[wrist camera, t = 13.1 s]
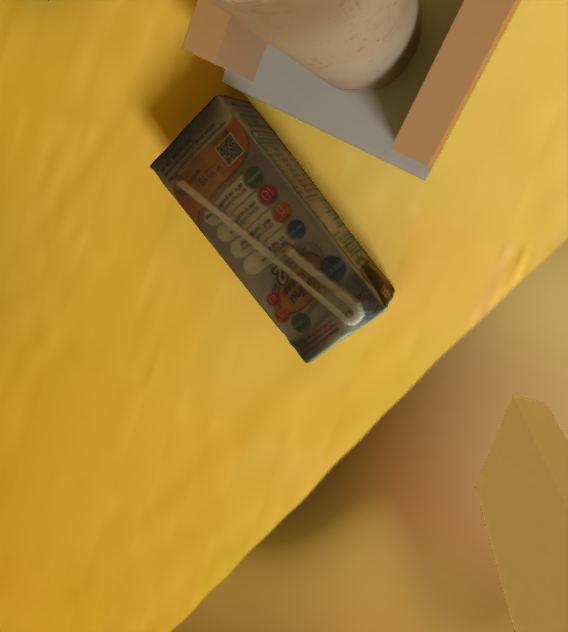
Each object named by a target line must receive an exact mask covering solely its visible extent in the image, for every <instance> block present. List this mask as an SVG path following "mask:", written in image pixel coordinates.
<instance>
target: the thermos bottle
mask: <svg viewBox="0 0 568 632" xmlns="http://www.w3.org/2000/svg"><path fill="white" fill-rule="evenodd" d="M208 1H210V2H211V3H213V4H214V5H216V6H217V7H219V8H220V9H222V10H224V11H226V12H227V13H229V14H230V15H231V16H233V17H234V18H235V19H236V20H238V21H239V22H240V23H241V24H243V25H244V26H245V27H247V28H248V29H250V30H251V31H252V32H254V33H255V34H257V35H258V36H260V37H261V38H263V39H264V40H265V41H267V42H268V43H270V44H271V45H273V46H274V47H276V48H277V49H279V50H280V51H281V52H283V53H284V54H286V55H287V56H289V57H290V58H292V59H293V60H294V61H296V62H297V63H299V64H300V65H302V66H303V67H305V68H306V69H308V70H309V71H310V72H312V73H313V74H315V75H316V76H318V77H319V78H321V79H322V80H323V81H325V82H326V83H328V84H330V85H331V86H333V87H334V88H336V89H339V90H342V91H344V92H350V93H366V92H370V91H374V90H377V89H379V88H381V87H383V86H385V85H387V84H389V83H390V82H392V81H393V80H394V79H395V78H397V77H398V76H399V75H400V74H401V73H402V72H403V70H404V69H405V68H406V67H407V66H408V64H409V62H410V61H411V59H412V58H413V56H414V54H415V51H416V49H417V46H418V44H419V39H420V35H421V27H422V15H421V9H420V3H419V0H208Z"/></svg>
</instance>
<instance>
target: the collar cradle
mask: <svg viewBox="0 0 568 632" xmlns="http://www.w3.org/2000/svg"><path fill="white" fill-rule="evenodd" d="M520 1H521V0H419V3H420V9H421V15H422V27H421V35H420V39H419V44H418V46H417V49H416V51H415V54H414V56H413V58H412V59H411V61H410V62H409V64H408V66H407V67H406V68H405V69H404V70H403V72H402V73H401V74H400V75H399V76H398V77H397V78H395V79H394V80H393V81H392V82H390V83H389V84H387V85H385V86H383V87H381V88H379V89H377V90H374V91H370V92H366V93H350V92H344V91H342V90H339V89H336V88H334V87H333V86H331V85H330V84H328V83H326V82H325V81H323V80H322V79H321V78H319V77H318V76H316V75H315V74H313V73H312V72H310V71H309V70H308V69H306V68H305V67H303V66H302V65H300V64H299V63H297V62H296V61H294V60H293V59H292V58H290V57H289V56H287V55H286V54H284V53H283V52H281V51H280V50H279V49H277V48H276V47H274V46H273V45H271V44H270V43H268V42H267V41H265V40H264V39H263V38H261V37H260V36H258V35H257V34H255V33H254V32H252V31H251V30H250V29H248V28H247V27H245V26H244V25H243V24H241V23H240V22H239V21H238V20H236V19H235V18H234V17H233V16H231V15H230V14H229V13H227V12H226V11H224V10H222V9H220V8H219V7H217V6H216V5H214V4H213V3H211V2H210V1H208V0H197V3H196V6H195V9H194V12H193V15H192V18H191V21H190V24H189V27H188V30H187V34H186V37H185V40H184V43H183V46H182V49H184V50H186V51H188V52H190V53H192V54H194V55H196V56H198V57H200V58H202V59H205V60H207V61H209V62H211V63H213V64H215V65H217V66H219V67H222V68H224V69H225V71H224V74H223V77H222V79H221V82H222V83H224V84H226V85H228V86H230V87H232V88H234V89H237V90H239V91H241V92H243V93H245V94H247V95H249V96H251V97H253V98H255V99H257V100H259V101H261V102H264V103H266V104H268V105H270V106H272V107H274V108H276V109H278V110H280V111H282V112H284V113H286V114H288V115H290V116H293V117H295V118H297V119H299V120H301V121H303V122H305V123H307V124H309V125H311V126H313V127H315V128H317V129H319V130H322V131H324V132H326V133H328V134H330V135H332V136H334V137H336V138H338V139H340V140H342V141H344V142H346V143H348V144H351V145H353V146H355V147H357V148H359V149H361V150H363V151H365V152H367V153H369V154H371V155H373V156H375V157H377V158H380V159H382V160H384V161H386V162H388V163H390V164H392V165H394V166H396V167H398V168H400V169H402V170H404V171H406V172H409V173H411V174H413V175H415V176H417V177H419V178H421V179H423V180H426V178H427V176H428V174H429V173H430V171H431V169H432V167H433V165H434V163H435V161H436V159H437V158H438V156H439V154H440V152H441V150H442V148H443V146H444V144H445V142H446V141H447V139H448V137H449V135H450V133H451V131H452V129H453V127H454V126H455V124H456V122H457V120H458V118H459V116H460V114H461V112H462V110H463V109H464V107H465V105H466V103H467V101H468V99H469V97H470V95H471V94H472V92H473V90H474V88H475V86H476V84H477V82H478V80H479V79H480V77H481V75H482V73H483V71H484V69H485V67H486V65H487V63H488V62H489V60H490V58H491V56H492V54H493V52H494V50H495V48H496V47H497V45H498V43H499V41H500V39H501V37H502V35H503V33H504V31H505V30H506V28H507V26H508V24H509V22H510V20H511V18H512V16H513V15H514V13H515V11H516V9H517V7H518V5H519V3H520Z"/></svg>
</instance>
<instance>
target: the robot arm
mask: <svg viewBox="0 0 568 632" xmlns="http://www.w3.org/2000/svg"><path fill="white" fill-rule="evenodd" d="M475 489H476V493H477V496H478V499H479V504H480V507H481V511H482V515H483V518H484V522H485V526H486V529H487V533H488V537H489V540H490V544H491V548H492V551H493V555H494V559H495V562H496V566H497V570H498V573H499V577H500V581H501V585H502V588H503V592H504V595H505V599H506V603H507V607H508V610H509V614H510V617H511V621H512V625H513V628H514V632H568V440H567V438H566V437H565V435H564V433H563V432H562V430H561V428H560V427H559V425H558V423H557V421H556V419H555V418H554V416H553V414H552V413H551V411H550V409H549V407H548V406H547V404H546V403H544V402H539V401H535V400H531V399H526V398H522V397H518V396H512V399H511V401H510V404H509V406H508V409H507V411H506V413H505V416H504V418H503V420H502V423H501V425H500V428H499V430H498V433H497V435H496V437H495V440H494V442H493V445H492V447H491V449H490V452H489V454H488V457H487V459H486V462H485V464H484V466H483V469H482V472H481V474H480V476H479V479H478V481H477V483H476V486H475Z"/></svg>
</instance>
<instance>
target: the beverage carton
mask: <svg viewBox="0 0 568 632" xmlns="http://www.w3.org/2000/svg"><path fill="white" fill-rule="evenodd" d="M150 167H151V168H152V169H153V170H154V171H155V172H156V174H157V175H158V176H159V178H160V179H161V181H162V182H163V184H164V185H165V187H166V188H167V189H168V190H169V191H170V192H171V194H172V195H173V196H174V197H175V199H176V200H177V201H178V203H179V204H180V205H181V207H182V208H183V209H184V210H185V211H186V213H187V214H188V215H189V216H190V218H191V219H192V220H193V222H194V223H195V224H196V225H197V227H198V228H199V229H200V231H201V232H202V233H203V234H204V236H205V237H206V238H207V239H208V240H209V242H210V243H211V244H212V245H213V247H214V248H215V249H216V250H217V252H218V253H219V254H220V256H221V257H222V258H223V259H224V261H225V262H226V263H227V264H228V266H229V267H230V268H231V269H232V271H233V272H234V273H235V275H236V276H237V277H238V278H239V280H240V281H241V282H242V283H243V284H244V286H245V287H246V288H247V289H248V291H249V292H250V293H251V294H252V296H253V297H254V298H255V299H256V301H257V302H258V303H259V304H260V306H261V307H262V308H263V309H264V311H265V312H266V313H267V314H268V316H269V317H270V318H271V319H272V321H273V322H274V323H275V324H276V326H277V327H278V328H279V329H280V330H281V331H282V332H283V333H284V334H285V335H286V337H287V339H288V340H289V342H290V344H291V345H292V346H293V347H294V348H295V349H296V351H297V352H298V354H299V355H300V357H301V358H302V359H303V360H304V361H305V362H306V363H309V362H311V361H312V360H314V359H315V358H317V357H318V356H320V355H321V354H323V353H324V352H325V351H327V350H328V349H330V348H331V347H333V346H334V345H336V344H337V343H339V342H340V341H342V340H343V339H344V338H346V337H347V336H349V335H351V334H352V333H354V332H356V331H357V330H359V329H360V328H362V327H363V326H365V325H366V324H368V323H370V322H371V321H372V320H374V319H375V318H377V317H378V316H380V315H381V314H383V313H384V312H385V311H386V310H387V307H388V304H389V302H390V301H391V300H392V298H393V294H394V293H395V290H394V288H393V287H392V286H391V284H390V283H389V282H388V280H387V279H386V278H385V276H384V275H383V274H382V272H381V271H380V270H379V269H378V268H377V267H376V265H375V264H374V263H373V261H372V260H371V259H370V258H369V256H368V255H367V254H366V252H365V251H364V250H363V248H362V247H361V246H360V244H359V243H358V242H357V240H356V239H355V238H354V236H353V235H352V234H351V233H350V231H349V230H348V229H347V227H346V226H345V225H344V224H343V222H342V221H341V220H340V218H339V217H338V216H337V214H336V213H335V212H334V210H333V209H332V208H331V206H330V205H329V204H328V203H327V201H326V200H325V199H324V197H323V196H322V194H321V193H320V192H319V190H318V189H317V188H316V186H315V185H314V184H313V182H312V181H311V180H310V179H309V177H308V176H307V175H306V173H305V172H304V171H303V169H302V168H301V167H300V165H299V164H298V163H297V162H296V160H295V159H294V158H293V157H292V155H291V154H290V153H289V151H288V150H287V149H286V148H285V146H284V145H283V144H282V143H281V141H280V140H279V139H278V137H277V136H276V135H275V134H274V132H273V131H272V130H271V129H270V128H269V126H268V125H267V124H266V123H265V122H264V120H263V119H262V117H261V116H260V115H259V114H258V113H257V112H256V111H255V110H254V108H253V107H252V106H251V104H250V102H246V101H241V100H238V99H235V98H231V97H227V96H222V95H217V96H215V97H214V98H213V99H212V100H211V101H210V102H209V104H208V105H207V106H206V107H205V108H204V109H203V110H202V111H201V112H200V113H199V114H198V115H197V116H196V117H195V118H194V119H193V120H192V121H191V122H190V123H189V124H188V125H187V126H186V127H185V128H184V130H183V131H182V132H181V133H180V134H179V135H178V136H177V137H176V139H175V140H174V141H173V142H172V143H171V144H170V145H169V147H168V148H167V149H166V150H165V151H164V152H163V153H162V154H161V155H160V156H159V157H158V158H157V159H156V160H155V161H154V162H153V163H152V164H151V165H150Z"/></svg>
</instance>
